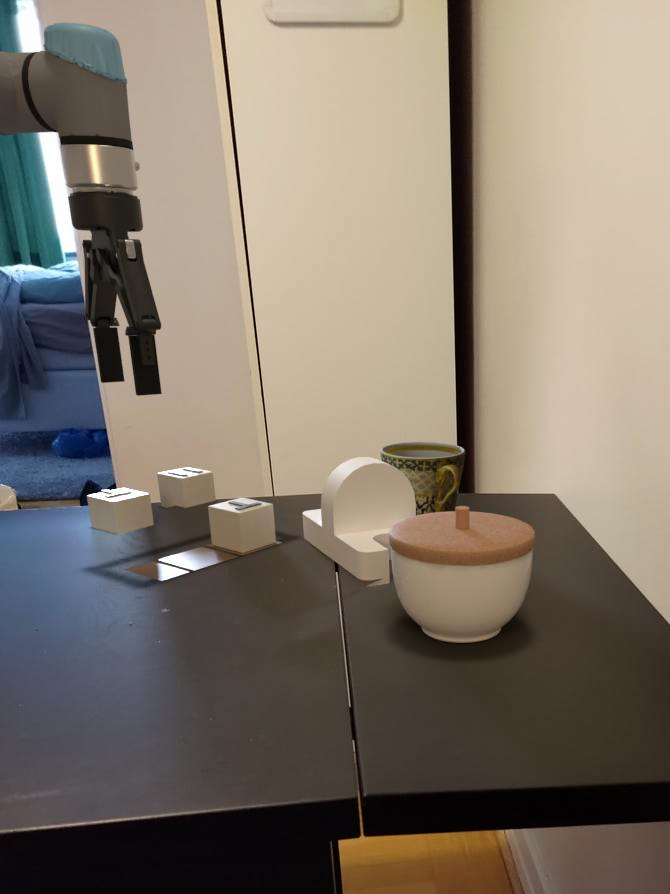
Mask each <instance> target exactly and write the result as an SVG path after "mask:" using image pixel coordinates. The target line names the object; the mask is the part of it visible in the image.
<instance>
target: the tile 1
mask: <svg viewBox="0 0 670 894" xmlns="http://www.w3.org/2000/svg"><path fill="white" fill-rule="evenodd" d="M151 500H152V499H151V493H149V492H145V491H139V490H135V489H130V488H128V487H127V488H126V487H121V488H115V489H111V490H110V489H101V490H100V492H97V493H91V494H88V495H86V501H87V505H88V506H87V507H88V512H89V517H90V518H89V519H90V524H91V525H90V526H91V528H93V529H96V530H100V531H104V532H108V533H111V534H114V535H121V534H125V533H126V534H127V533H129V532H133V531H136V530H141V529H144V528H149V527H152V526H154V525H155V523H154V515H153V508H152V501H151Z"/></svg>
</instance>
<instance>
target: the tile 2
mask: <svg viewBox="0 0 670 894" xmlns="http://www.w3.org/2000/svg"><path fill="white" fill-rule="evenodd" d="M207 509H208V520H209V529H210V538H211V539H210V540H211V544H212V545H214V546H218V547H221V548H225V549H229V550H233V551H237V552H241V553H244V552H248V551H251V550H254V549H257V548H260V547H263V546H267V545H270V544H273V543H276V541H277V538H276V525H275V511H274V503H270V502H266V501H261V500H256V499H252V498H248V497H246V498H245V497H238V498H235V499H234V498H233V499H230V500H227V501H222V502H219V503H218V502H217V503H215V504H211V505H208V506H207Z"/></svg>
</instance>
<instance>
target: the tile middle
mask: <svg viewBox="0 0 670 894" xmlns="http://www.w3.org/2000/svg"><path fill="white" fill-rule="evenodd" d="M156 476H157V483H158V491H159V501H160V507H162V508H165V509H167V508H171V507H175V506H176V507H178V508H184V509H187V508H191V507H196V506H199V505H203V504H207V503H211V502H215V501H216V499H217V498H216V490H215V479H214V472H213V471H210V470H205V469H201V468H195V467H190V466H186V467H180V468H175V469H170V470H166V471H161V472H157V473H156Z"/></svg>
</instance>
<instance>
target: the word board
mask: <svg viewBox="0 0 670 894" xmlns="http://www.w3.org/2000/svg"><path fill="white" fill-rule="evenodd" d="M280 544H283V542H282V541H278V540H276V543H273V544H270V545H267V546H263V547H260V548H257V549H254V550H251V551H248V552H244V553H241V552H237V551H233V550H229V549H225V548H221V547H218V546H214V545H212V543H209V544H206V545H205V547H204V546H199V547H195V548H193V549H189V550H185V551H182V552H179V553H176V554H171V555H169V556H165V557H162V558H158V559H156V561H158V562H156V561H153V560H152V561H148V562H145V563H142V564H138V565H135V566H131V567H128V568H125V569H123V571H128V572H131V573H134V574H137V575H140V576H144V577H146V578H151V579H154V580H157V581H161V582H165V581H168V580H171V579H174V578H177V577H178V578H179V577H181V576H183V575H187V574H190V573H191V571H192V572H196V571H199V570H202V569H205V568H209V567H212V566H215V565H218V564H221V563H224V562H228V561H231V560H234V559H236V558H239V557H240V556H247V555H250V554H252V553H256V552H258V551H263V550H265V549H269V548H271V547H275V546H277V545H280ZM160 562H161V563H160ZM167 564H168V565H167ZM174 566H175V567H174Z"/></svg>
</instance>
